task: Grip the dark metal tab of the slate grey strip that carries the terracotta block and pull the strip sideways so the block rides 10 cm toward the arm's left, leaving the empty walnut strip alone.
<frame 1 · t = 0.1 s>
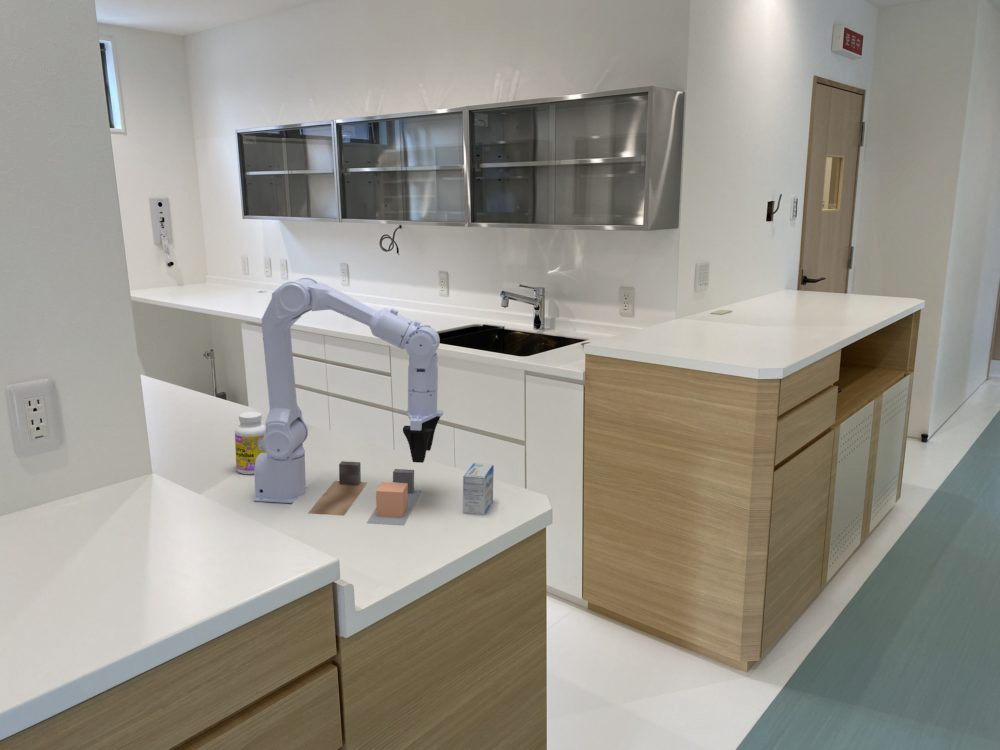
hand: (421, 455, 149), 10 cm above the countertop, tool pointing down, fingers open, 7 cm apart
medicine box: (477, 512, 148), on the countertop
terracotta block: (392, 511, 144), point 1 cm above the countertop, touching slate strip
slate strip: (395, 497, 147), point 3 cm above the countertop, slide at 0.0 cm, touching terracotta block
supplement bottle: (252, 471, 167), on the countertop
walnut strip: (339, 488, 150), point 3 cm above the countertop, slide at 0.0 cm
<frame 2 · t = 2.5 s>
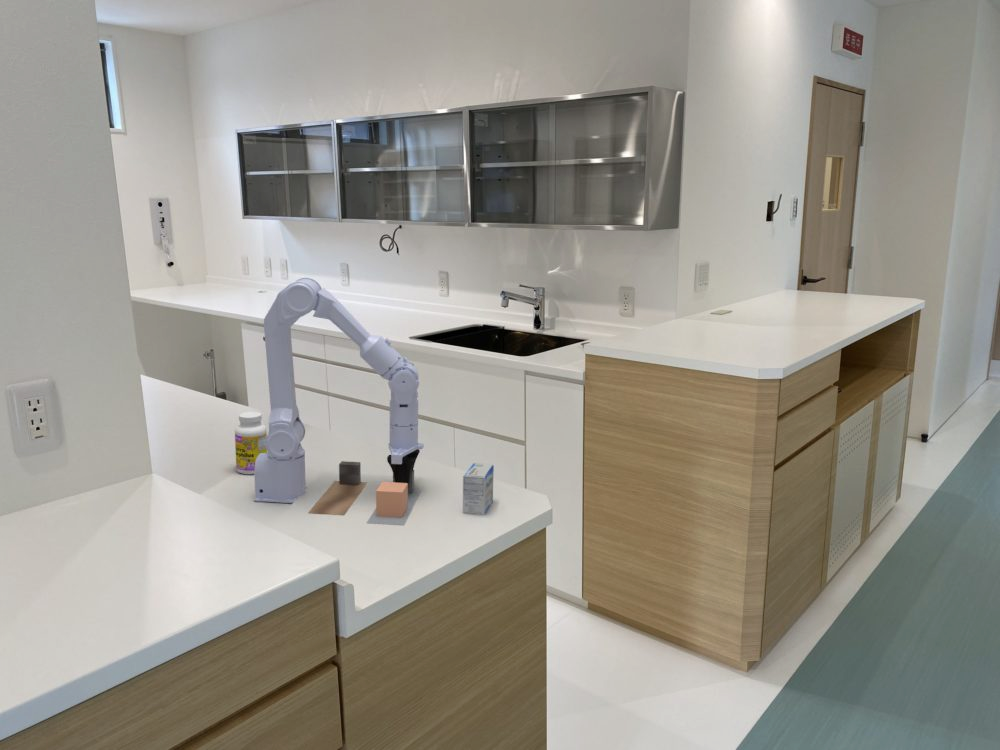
hand: (403, 486, 155), 2 cm above the countertop, tool pointing down, fingers closed on slate strip, 2 cm apart
slate strip: (395, 497, 147), point 3 cm above the countertop, slide at 0.0 cm, touching gripper, terracotta block
everything else where it was.
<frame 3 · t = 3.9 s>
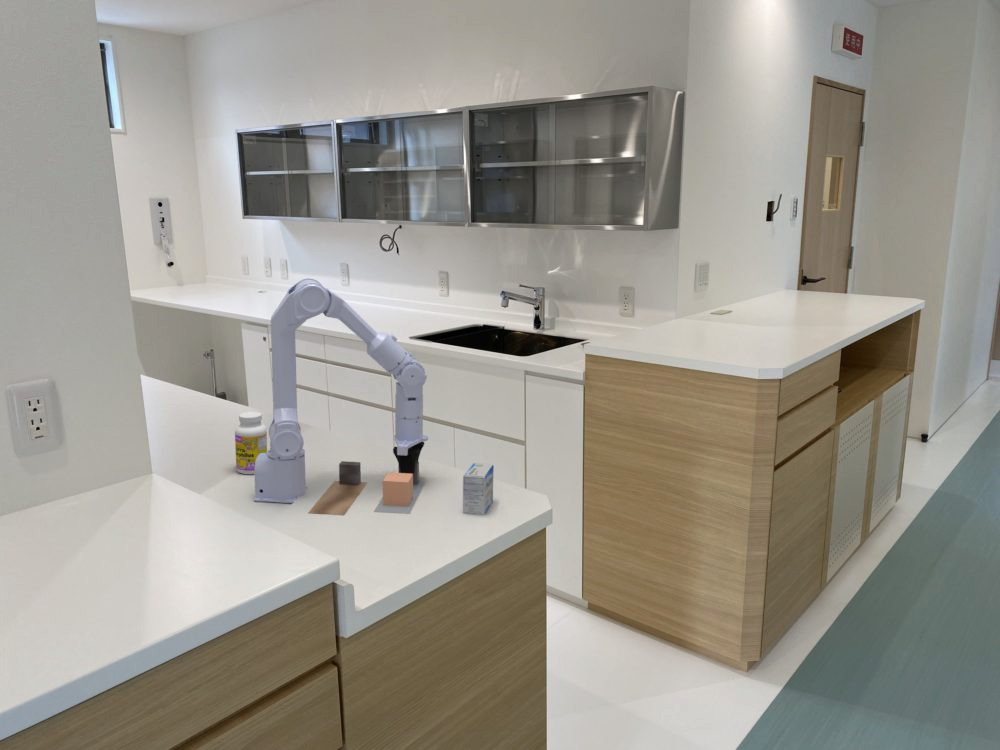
hand: (408, 477, 160), 2 cm above the countertop, tool pointing down, fingers closed on slate strip, 2 cm apart
terracotta block: (398, 501, 150), point 1 cm above the countertop, touching slate strip
slate strip: (401, 487, 152), point 3 cm above the countertop, slide at 5.5 cm, touching gripper, terracotta block
everything else where it was.
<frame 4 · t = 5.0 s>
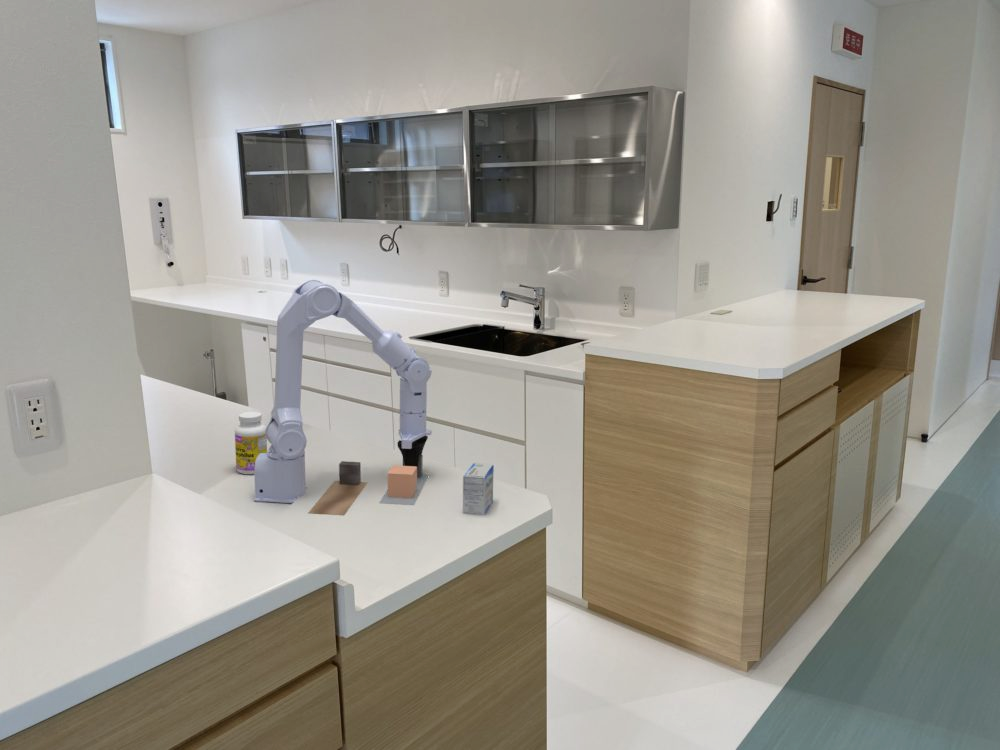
hand: (412, 470, 164), 2 cm above the countertop, tool pointing down, fingers closed on slate strip, 2 cm apart
terracotta block: (402, 493, 154), point 1 cm above the countertop, touching slate strip
slate strip: (405, 479, 156), point 3 cm above the countertop, slide at 10.0 cm, touching gripper, terracotta block
everything else where it was.
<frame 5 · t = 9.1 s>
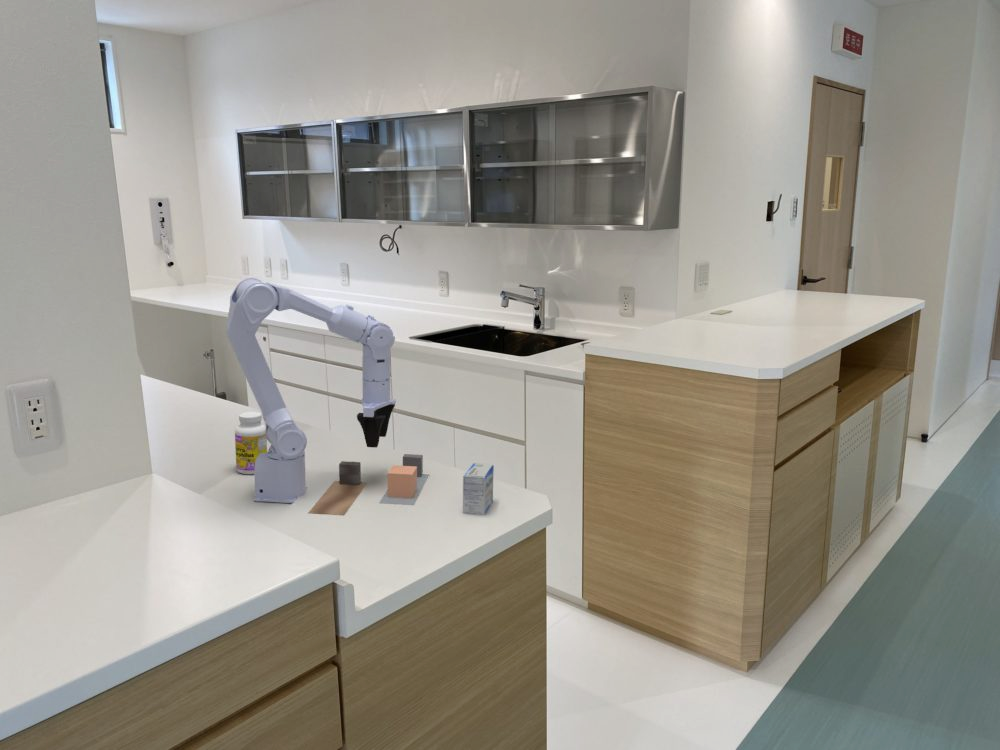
hand: (376, 441, 159), 9 cm above the countertop, tool pointing down, fingers open, 7 cm apart
slate strip: (405, 479, 157), point 3 cm above the countertop, slide at 10.0 cm, touching terracotta block
everything else where it was.
at the end: slate strip slide at 10.0 cm; terracotta block inside the target area (0.5 cm from its centre), point 0.9 cm above the countertop; terracotta block tilted 0° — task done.
